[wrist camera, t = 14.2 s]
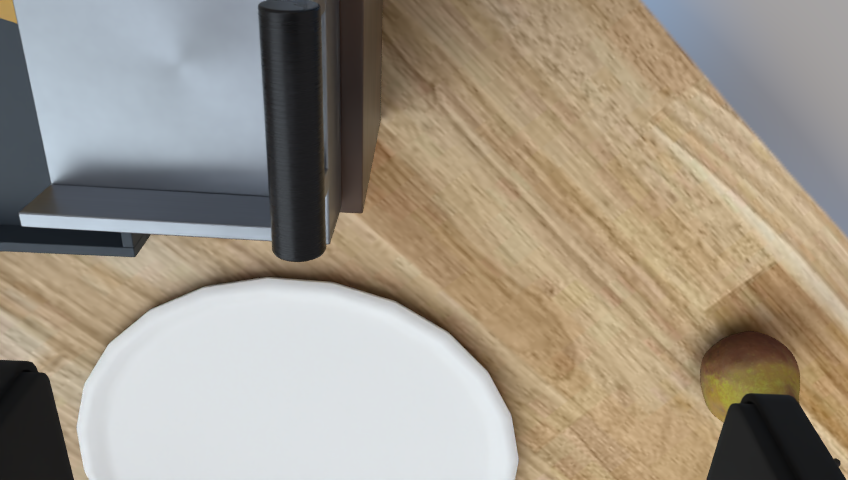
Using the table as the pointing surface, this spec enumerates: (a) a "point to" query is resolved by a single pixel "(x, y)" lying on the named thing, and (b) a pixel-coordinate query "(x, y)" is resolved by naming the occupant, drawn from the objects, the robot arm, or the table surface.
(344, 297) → the plate
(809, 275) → the table surface
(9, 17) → the key
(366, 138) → the stand
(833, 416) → the table surface
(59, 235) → the tray
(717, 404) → the fruit
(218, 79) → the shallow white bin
